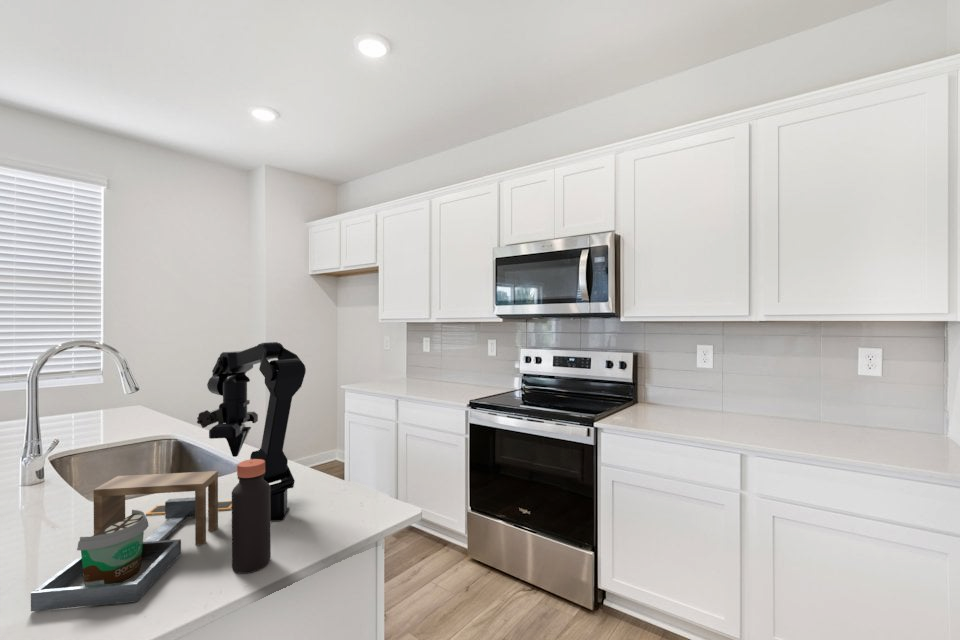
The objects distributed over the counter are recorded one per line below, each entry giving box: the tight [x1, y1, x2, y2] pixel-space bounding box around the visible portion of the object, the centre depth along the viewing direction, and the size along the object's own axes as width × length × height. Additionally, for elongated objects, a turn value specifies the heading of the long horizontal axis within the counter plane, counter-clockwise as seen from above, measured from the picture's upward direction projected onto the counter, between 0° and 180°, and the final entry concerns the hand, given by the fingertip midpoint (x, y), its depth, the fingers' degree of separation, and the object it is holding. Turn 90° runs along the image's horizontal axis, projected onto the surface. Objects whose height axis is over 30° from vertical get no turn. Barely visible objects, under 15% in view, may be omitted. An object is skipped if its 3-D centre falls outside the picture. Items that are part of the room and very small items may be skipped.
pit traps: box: [145, 500, 232, 516], centre depth 115 cm, size 19×5×1 cm, turn 100°
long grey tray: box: [30, 497, 195, 612], centre depth 93 cm, size 16×36×4 cm, turn 10°
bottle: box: [231, 459, 272, 574], centre depth 89 cm, size 7×7×20 cm
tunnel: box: [93, 470, 219, 546], centre depth 99 cm, size 21×8×13 cm, turn 100°
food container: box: [76, 509, 149, 586], centre depth 85 cm, size 12×6×10 cm, turn 177°
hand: (235, 456), depth 122 cm, fingers closed
